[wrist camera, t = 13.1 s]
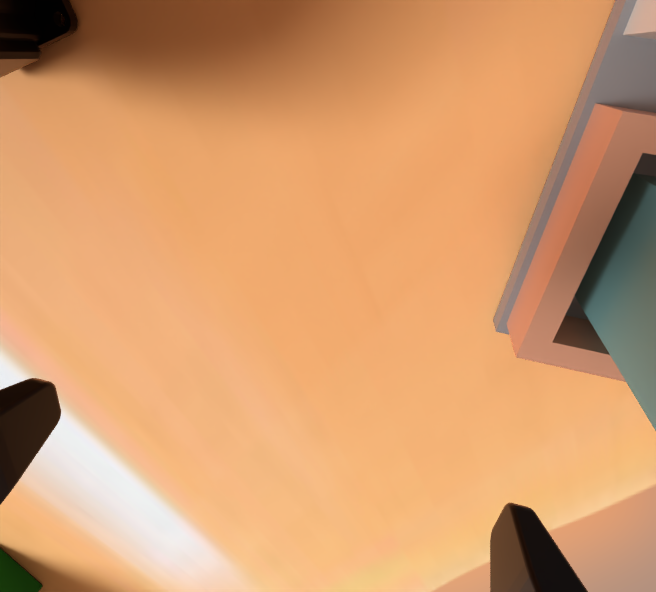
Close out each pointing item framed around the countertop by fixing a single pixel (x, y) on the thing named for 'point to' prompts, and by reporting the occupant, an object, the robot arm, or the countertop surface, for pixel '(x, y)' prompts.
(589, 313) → the plug
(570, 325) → the organiser
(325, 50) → the countertop surface
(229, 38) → the countertop surface
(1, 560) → the milk carton
